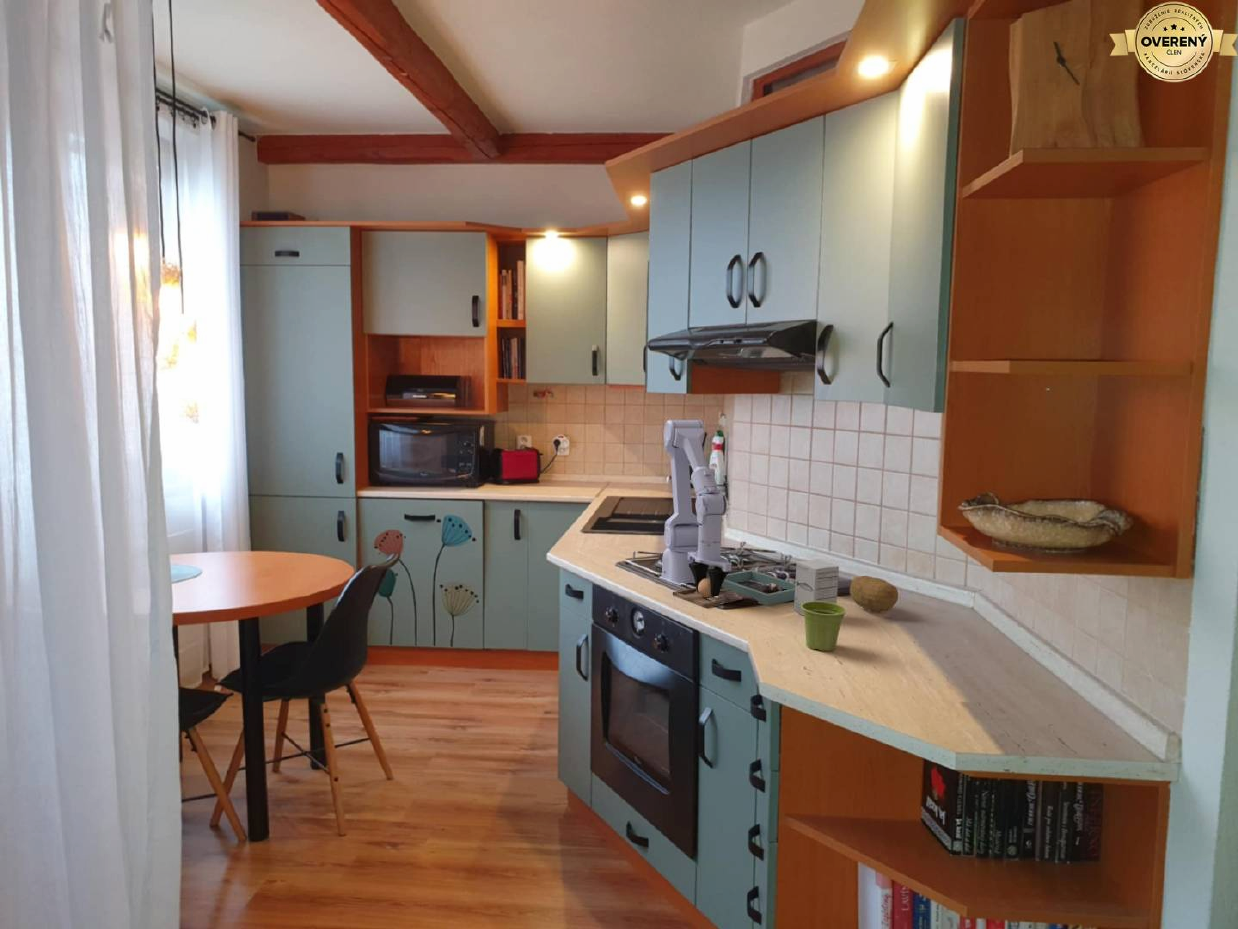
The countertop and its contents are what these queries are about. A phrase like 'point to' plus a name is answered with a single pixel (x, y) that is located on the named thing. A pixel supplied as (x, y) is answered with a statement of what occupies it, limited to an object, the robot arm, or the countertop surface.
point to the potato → (873, 593)
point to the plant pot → (822, 624)
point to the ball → (705, 588)
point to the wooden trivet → (697, 598)
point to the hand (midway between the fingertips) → (707, 593)
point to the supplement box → (815, 583)
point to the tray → (761, 597)
